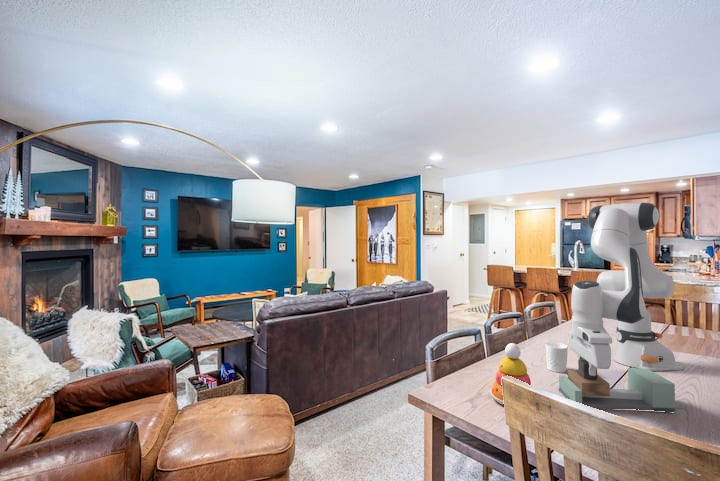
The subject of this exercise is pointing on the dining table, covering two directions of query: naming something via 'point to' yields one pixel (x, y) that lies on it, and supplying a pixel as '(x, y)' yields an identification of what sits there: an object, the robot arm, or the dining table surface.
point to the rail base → (628, 393)
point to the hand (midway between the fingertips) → (587, 371)
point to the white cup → (556, 356)
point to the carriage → (588, 381)
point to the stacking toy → (509, 371)
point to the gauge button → (649, 360)
